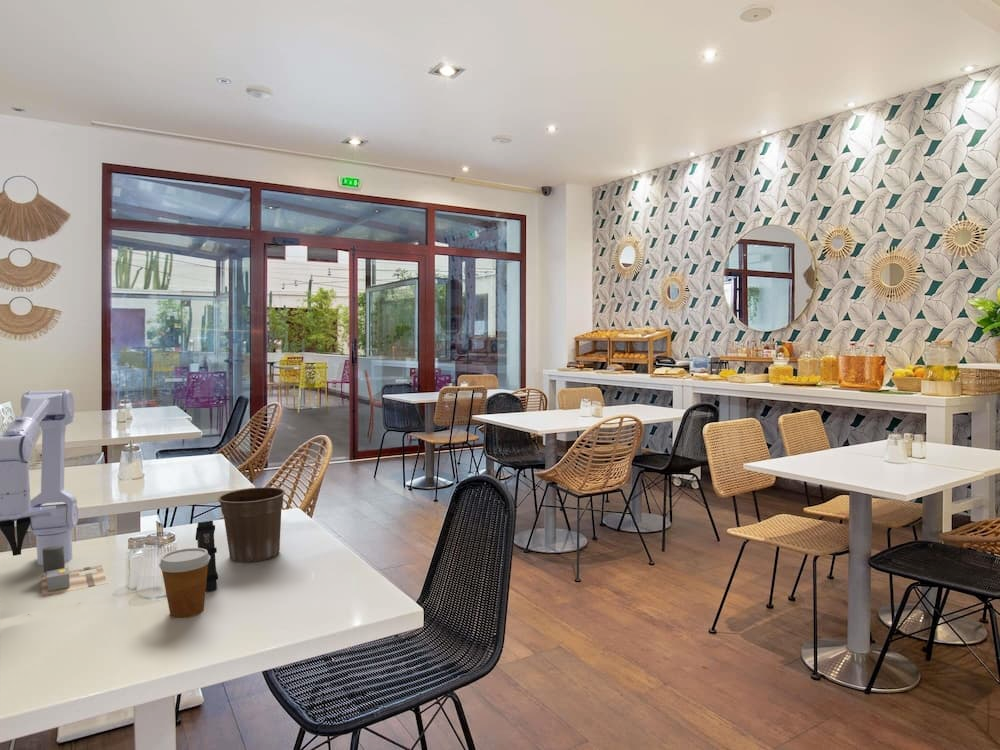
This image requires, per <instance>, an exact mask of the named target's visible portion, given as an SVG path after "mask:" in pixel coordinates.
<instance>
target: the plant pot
mask: <svg viewBox="0 0 1000 750" xmlns="http://www.w3.org/2000/svg"><path fill="white" fill-rule="evenodd" d="M285 494H286V490H285V489H283V488H279V487H267V486H266V487H253V488H251V487H250V488H244V489H243V488H242V489H237V490H233V491H229V492H227V493H223V494H221V495H219V496H218V498H217V501H218V502H219V505H220V509H221V514H222V515H223V520H224V526H225V534H226V540H227V546H228V553H229V559H230V560H231V561H233V562H235V561H236V562H235V563H249V562H250V561H255V562H260V561H266V560H269V559H271V557H272V558H273V557H276V556H277V555H278V554H279V553H280V549H281V528H282V527H281V525H282V523H281V521H282V509H283V506H284V495H285ZM265 559H266V560H265Z"/></svg>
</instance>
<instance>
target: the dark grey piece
mask: <svg viewBox="0 0 1000 750" xmlns="http://www.w3.org/2000/svg"><path fill="white" fill-rule="evenodd" d="M42 566H43V573H46V574H47V571H51V570H57V569H62V568H66V566H65V562H64V546H51V547H47V548H44V549H43V565H42Z"/></svg>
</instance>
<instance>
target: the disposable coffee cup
mask: <svg viewBox="0 0 1000 750" xmlns="http://www.w3.org/2000/svg"><path fill="white" fill-rule="evenodd" d="M209 560H210V555H209V554H208V551H207V550H206V549H202V548H198V547H191V548H189V547H188V548H181V549H176V550H173V551H170V552H167V553H165V554H163V555H162V556H161V558H160V562H159V563H158V567H159V568H160V571H161V572H162V573H161V574H162V578H163V583H164V590H165V594H166V599H167V604H168V610H169V616H170V617H171V618H175V619H186V618H190V617H194V616H197V615H199V614H201V613H203V611H204V609H205V603H206V602H205V601H206V593H207V592H206V581H207V570H208V563H209Z"/></svg>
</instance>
